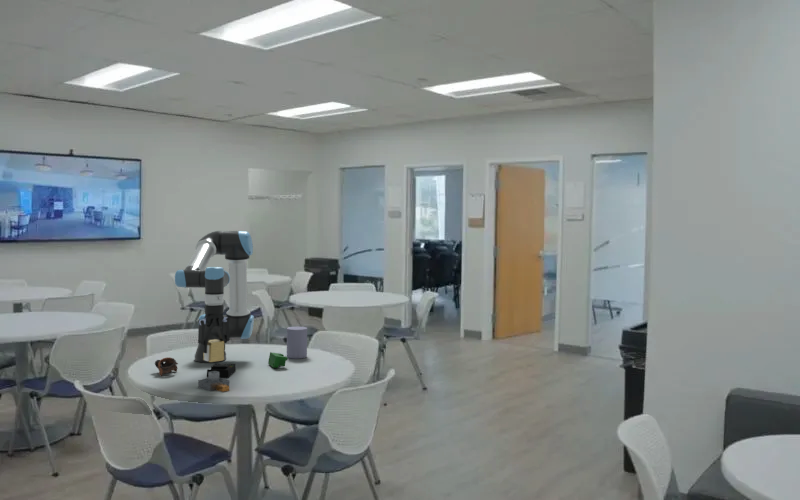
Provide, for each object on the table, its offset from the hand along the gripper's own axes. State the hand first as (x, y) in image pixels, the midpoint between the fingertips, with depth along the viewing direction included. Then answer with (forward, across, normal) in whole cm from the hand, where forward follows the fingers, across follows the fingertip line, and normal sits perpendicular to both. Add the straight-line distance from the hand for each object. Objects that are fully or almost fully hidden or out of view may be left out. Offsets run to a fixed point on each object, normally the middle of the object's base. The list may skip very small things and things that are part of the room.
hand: (213, 359), depth 266 cm
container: (+11, +63, +24) cm, 69 cm away
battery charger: (+12, +15, +18) cm, 26 cm away
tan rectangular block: (0, 0, 0) cm, 0 cm away
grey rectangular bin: (+12, 0, 0) cm, 12 cm away
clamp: (+13, +43, +16) cm, 48 cm away
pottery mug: (+12, -2, +37) cm, 39 cm away
